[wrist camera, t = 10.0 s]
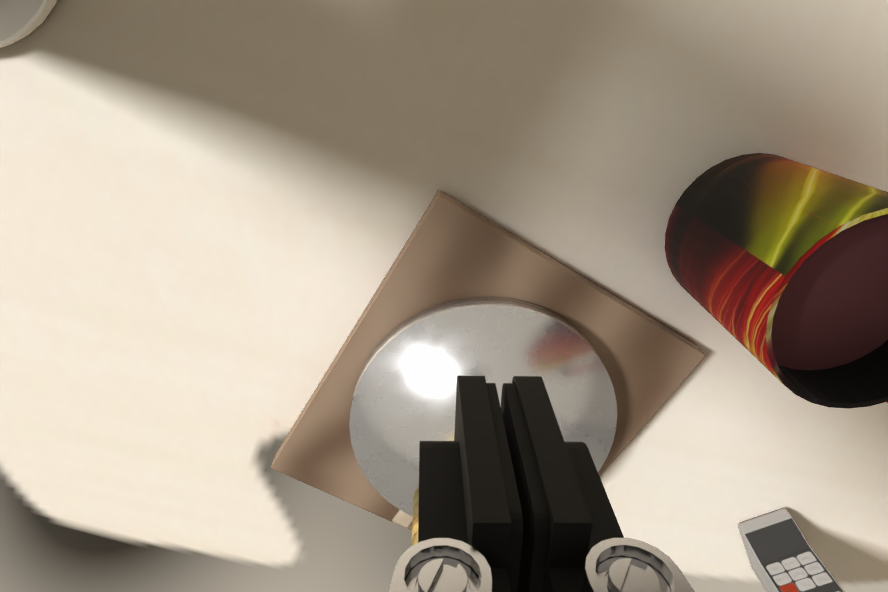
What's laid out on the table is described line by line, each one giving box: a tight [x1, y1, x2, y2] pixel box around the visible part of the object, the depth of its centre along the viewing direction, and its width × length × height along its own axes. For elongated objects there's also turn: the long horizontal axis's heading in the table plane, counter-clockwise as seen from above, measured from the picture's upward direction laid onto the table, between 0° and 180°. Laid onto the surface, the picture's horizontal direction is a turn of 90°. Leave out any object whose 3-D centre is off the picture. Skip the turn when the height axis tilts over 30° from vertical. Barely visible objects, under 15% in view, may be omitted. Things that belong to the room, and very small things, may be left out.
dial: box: [349, 296, 617, 546], centre depth 37 cm, size 17×17×6 cm
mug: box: [665, 153, 888, 408], centre depth 32 cm, size 10×14×12 cm
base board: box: [271, 190, 705, 530], centre depth 41 cm, size 20×22×2 cm
